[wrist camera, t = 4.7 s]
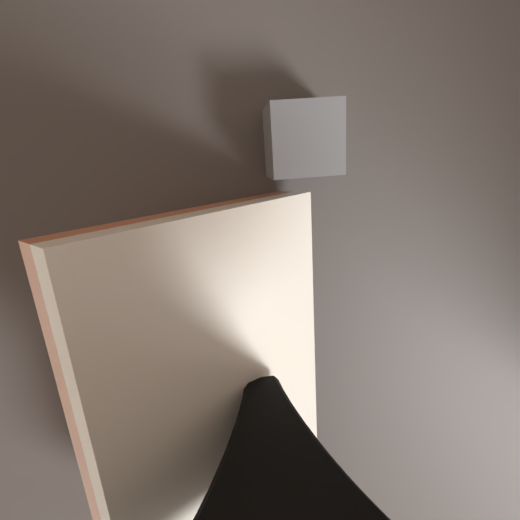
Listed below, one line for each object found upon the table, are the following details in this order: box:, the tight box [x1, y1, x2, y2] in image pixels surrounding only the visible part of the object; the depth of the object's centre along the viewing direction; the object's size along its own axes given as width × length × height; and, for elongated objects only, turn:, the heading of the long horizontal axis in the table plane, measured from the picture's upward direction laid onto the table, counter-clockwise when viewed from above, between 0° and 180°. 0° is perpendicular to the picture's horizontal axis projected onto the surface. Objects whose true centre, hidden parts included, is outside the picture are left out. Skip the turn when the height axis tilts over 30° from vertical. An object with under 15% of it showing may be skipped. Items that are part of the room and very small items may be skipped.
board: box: [0, 0, 520, 520], centre depth 11 cm, size 22×20×3 cm
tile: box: [18, 191, 317, 520], centre depth 8 cm, size 1×10×6 cm
